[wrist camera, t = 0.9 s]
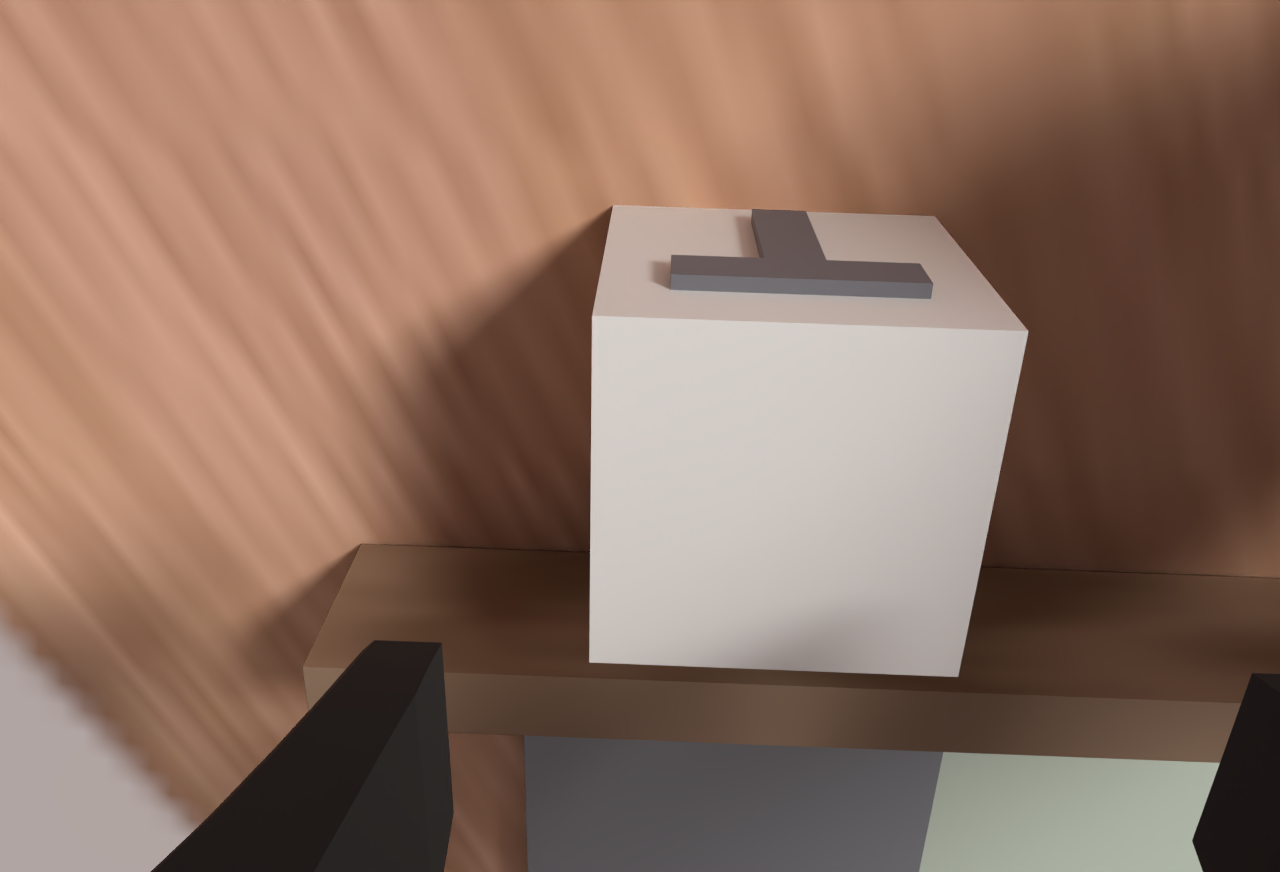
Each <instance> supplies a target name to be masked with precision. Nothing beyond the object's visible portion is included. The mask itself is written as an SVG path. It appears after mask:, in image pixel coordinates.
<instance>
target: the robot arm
mask: <svg viewBox="0 0 1280 872" xmlns="http://www.w3.org/2000/svg"><path fill="white" fill-rule="evenodd" d="M452 818H453V798H452V783H451V768H450V754H449V739H448V724H447V710H446V695H445V681H444V666H443V651H442V643H439V642H412V641H385V640H374V641H373V642H371V643H370V644H369V645H368V646H367V647H366V648H364V649H363V650H362V651H361V652H360V654H359V655H358V656H357V657H356V658H355V659H354V660H353V662H352V663H351V664H350V665H349V666H348V667H347V668H346V669H345V671H344V672H343V673H342V674H341V675H340V676H339V677H338V679H337V680H336V681H335V682H334V683H333V684H332V685H331V687H330V688H329V689H328V690H327V691H326V692H325V693H324V695H323V696H322V697H321V698H320V699H319V700H318V701H317V702H316V703H315V705H314V706H313V707H312V708H311V709H310V710H309V711H308V712H307V714H306V715H305V716H304V717H303V718H302V719H301V720H300V721H299V722H298V723H297V724H296V726H295V727H294V728H293V729H292V730H291V731H290V732H289V733H288V734H287V735H286V737H285V738H284V739H283V740H282V741H281V742H280V743H279V744H278V745H277V746H276V747H275V749H274V750H273V751H272V752H271V753H270V754H269V755H268V756H267V757H266V758H265V759H264V760H263V761H262V762H261V763H260V764H259V765H258V766H257V767H256V768H255V769H254V770H253V771H252V772H251V773H250V774H249V776H248V777H247V778H246V779H245V780H244V781H243V782H242V783H241V784H240V785H239V786H238V787H237V788H236V789H235V790H234V791H233V792H232V793H231V794H230V795H229V796H228V797H227V798H226V799H225V800H224V802H223V803H222V804H221V805H220V806H219V807H218V808H217V809H216V810H215V811H214V812H213V813H212V814H211V815H210V816H209V817H208V818H207V819H206V820H205V821H204V822H203V823H202V824H201V825H200V826H199V827H198V828H196V829H195V830H194V831H193V832H192V833H191V834H190V835H189V836H188V837H187V838H186V839H185V840H184V841H183V842H182V843H181V844H180V845H179V846H177V847H176V848H175V849H174V850H173V851H172V852H171V853H170V854H169V855H168V856H167V857H166V858H165V859H164V860H163V861H162V862H161V863H160V864H158V865H157V866H156V868H154V869H153V870H152V871H151V872H444V866H445V860H446V854H447V848H448V842H449V836H450V830H451V824H452ZM1192 842H1193V845H1194V848H1195V851H1196V854H1197V856H1198V859H1199V862H1200V865H1201V868H1202V871H1203V872H1280V674H1264V673H1252V675H1251V677H1250V680H1249V683H1248V686H1247V689H1246V691H1245V694H1244V697H1243V700H1242V703H1241V705H1240V708H1239V711H1238V714H1237V716H1236V719H1235V722H1234V725H1233V728H1232V730H1231V733H1230V736H1229V739H1228V742H1227V744H1226V747H1225V750H1224V753H1223V756H1222V758H1221V761H1220V764H1219V767H1218V770H1217V772H1216V775H1215V778H1214V781H1213V784H1212V786H1211V789H1210V792H1209V795H1208V798H1207V800H1206V803H1205V806H1204V809H1203V812H1202V814H1201V817H1200V820H1199V823H1198V826H1197V828H1196V831H1195V834H1194V837H1193V839H1192Z"/></svg>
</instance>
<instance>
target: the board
mask: <svg viewBox="0 0 1280 872" xmlns="http://www.w3.org/2000/svg"><path fill="white" fill-rule="evenodd" d="M524 756H525V793H526V829H527V866H528V872H1203V871H1202V868H1201V865H1200V862H1199V859H1198V856H1197V854H1196V851H1195V848H1194V845H1193V842H1192V839H1193V837H1194V834H1195V831H1196V828H1197V826H1198V823H1199V820H1200V817H1201V814H1202V812H1203V809H1204V806H1205V803H1206V800H1207V798H1208V795H1209V792H1210V789H1211V786H1212V784H1213V781H1214V778H1215V775H1216V772H1217V770H1218V767H1219V764H1220V763H1209V762H1183V761H1158V760H1132V759H1107V758H1082V757H1056V756H1031V755H1005V754H980V753H955V752H929V751H904V750H878V749H853V748H828V747H802V746H777V745H751V744H726V743H701V742H675V741H650V740H624V739H599V738H574V737H548V736H524Z"/></svg>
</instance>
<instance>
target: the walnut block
mask: <svg viewBox="0 0 1280 872" xmlns="http://www.w3.org/2000/svg"><path fill="white" fill-rule="evenodd" d="M589 633H590V553H587V552H560V551H533V550H507V549H480V548H453V547H427V546H400V545H374V544H361V545H360V547H359V550H358V552H357V554H356V556H355V558H354V560H353V562H352V564H351V566H350V568H349V570H348V573H347V575H346V577H345V579H344V581H343V583H342V585H341V587H340V589H339V591H338V594H337V596H336V598H335V600H334V602H333V604H332V606H331V608H330V610H329V612H328V614H327V617H326V619H325V621H324V623H323V625H322V627H321V629H320V631H319V633H318V635H317V637H316V640H315V642H314V644H313V646H312V648H311V650H310V652H309V654H308V656H307V658H306V661H305V663H304V665H303V667H302V668H303V675H304V682H305V688H306V695H307V702H308V709H309V710H310V709H311V708H312V707H313V706H314V705H315V703H316V702H317V701H318V700H319V699H320V698H321V697H322V696H323V695H324V693H325V692H326V691H327V690H328V689H329V688H330V687H331V685H332V684H333V683H334V682H335V681H336V680H337V679H338V677H339V676H340V675H341V674H342V673H343V672H344V671H345V669H346V668H347V667H348V666H349V665H350V664H351V663H352V662H353V660H354V659H355V658H356V657H357V656H358V655H359V654H360V652H361V651H362V650H363V649H364V648H366V647H367V646H368V645H369V644H370V643H371V642H373V641H374V640H385V641H412V642H439V643H442V651H443V666H444V681H445V695H446V710H447V724H448V733H472V734H497V735H523V736H548V737H574V738H599V739H624V740H650V741H675V742H701V743H726V744H751V745H777V746H802V747H828V748H853V749H878V750H904V751H929V752H955V753H980V754H1005V755H1031V756H1056V757H1082V758H1107V759H1132V760H1158V761H1183V762H1209V763H1220V761H1221V758H1222V756H1223V753H1224V750H1225V747H1226V744H1227V742H1228V739H1229V736H1230V733H1231V730H1232V728H1233V725H1234V722H1235V719H1236V716H1237V714H1238V711H1239V708H1240V705H1241V703H1242V700H1243V697H1244V694H1245V691H1246V689H1247V686H1248V683H1249V680H1250V677H1251V675H1252V673H1264V674H1280V579H1279V578H1253V577H1226V576H1200V575H1173V574H1146V573H1120V572H1093V571H1066V570H1040V569H1013V568H986V567H980V572H979V577H978V582H977V587H976V592H975V597H974V602H973V606H972V611H971V616H970V621H969V626H968V631H967V636H966V641H965V646H964V651H963V655H962V660H961V665H960V670H959V675H958V677H945V676H920V675H894V674H869V673H843V672H818V671H793V670H767V669H742V668H717V667H691V666H666V665H640V664H615V663H590V662H589Z"/></svg>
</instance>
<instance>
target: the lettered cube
mask: <svg viewBox="0 0 1280 872" xmlns="http://www.w3.org/2000/svg"><path fill="white" fill-rule="evenodd" d="M1028 332H1029V331H1028V330H1027V329H1026V327H1025V326H1024V325H1023V324H1022V323H1021V321H1020V320H1019V319H1018V318H1017V316H1016V315H1015V314H1014V313H1013V312H1012V310H1011V309H1010V308H1009V307H1008V305H1007V304H1006V303H1005V302H1004V300H1003V299H1002V298H1001V297H1000V296H999V294H998V293H997V292H996V291H995V289H994V288H993V287H992V286H991V285H990V283H989V282H988V281H987V280H986V278H985V277H984V276H983V275H982V273H981V272H980V271H979V270H978V269H977V267H976V266H975V265H974V264H973V262H972V261H971V260H970V259H969V258H968V256H967V255H966V254H965V253H964V251H963V250H962V249H961V248H960V247H959V245H958V244H957V243H956V242H955V240H954V239H953V238H952V237H951V235H950V234H949V233H948V232H947V231H946V229H945V228H944V227H943V226H942V224H941V223H940V222H939V221H938V220H937V218H936V217H935V216H916V215H887V214H858V213H829V212H806V211H790V210H761V209H752V210H741V209H712V208H683V207H654V206H624V205H613V209H612V214H611V219H610V224H609V230H608V235H607V240H606V245H605V251H604V256H603V261H602V266H601V272H600V277H599V282H598V287H597V293H596V298H595V303H594V308H593V314H592V389H591V511H590V633H589V662H590V663H615V664H640V665H666V666H691V667H717V668H742V669H767V670H793V671H818V672H843V673H869V674H894V675H920V676H945V677H958V675H959V670H960V665H961V660H962V655H963V651H964V646H965V641H966V636H967V631H968V626H969V621H970V616H971V611H972V606H973V602H974V597H975V592H976V587H977V582H978V577H979V572H980V567H981V562H982V557H983V553H984V548H985V543H986V538H987V533H988V528H989V523H990V518H991V513H992V508H993V503H994V499H995V494H996V489H997V484H998V479H999V474H1000V469H1001V464H1002V459H1003V454H1004V450H1005V445H1006V440H1007V435H1008V430H1009V425H1010V420H1011V415H1012V410H1013V405H1014V401H1015V396H1016V391H1017V386H1018V381H1019V376H1020V371H1021V366H1022V361H1023V356H1024V352H1025V347H1026V342H1027V337H1028Z"/></svg>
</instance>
